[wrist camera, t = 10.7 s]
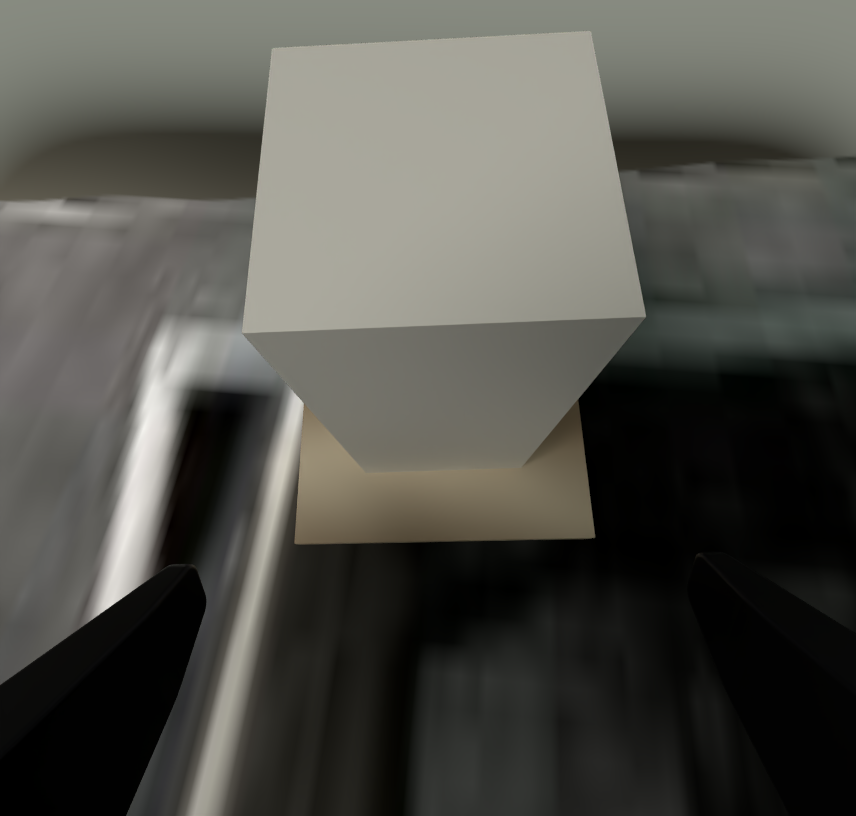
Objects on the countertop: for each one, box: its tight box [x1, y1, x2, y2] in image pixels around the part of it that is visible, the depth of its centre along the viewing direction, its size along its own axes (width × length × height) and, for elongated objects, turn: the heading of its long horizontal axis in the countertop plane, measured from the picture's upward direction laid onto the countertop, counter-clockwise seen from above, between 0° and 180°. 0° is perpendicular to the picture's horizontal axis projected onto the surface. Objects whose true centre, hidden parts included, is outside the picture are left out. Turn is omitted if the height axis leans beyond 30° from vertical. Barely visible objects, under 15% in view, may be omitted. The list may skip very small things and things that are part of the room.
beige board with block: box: [295, 400, 595, 545], centre depth 16 cm, size 10×10×4 cm
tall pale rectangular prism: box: [242, 31, 646, 473], centre depth 12 cm, size 5×5×11 cm
